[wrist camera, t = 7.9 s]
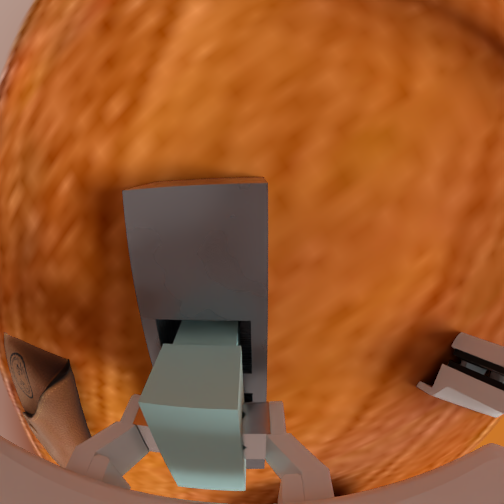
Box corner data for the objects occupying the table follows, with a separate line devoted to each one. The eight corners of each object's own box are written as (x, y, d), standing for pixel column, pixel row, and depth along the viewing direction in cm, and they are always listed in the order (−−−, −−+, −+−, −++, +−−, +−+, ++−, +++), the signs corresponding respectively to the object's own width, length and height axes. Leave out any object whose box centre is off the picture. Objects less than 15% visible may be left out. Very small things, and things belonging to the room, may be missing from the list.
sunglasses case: (-3, 325, 15) (-19, 384, 10) (70, 326, 19) (73, 386, 14) (48, 445, 21) (55, 491, 15) (100, 443, 24) (114, 489, 19)
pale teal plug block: (180, 305, 12) (138, 401, 7) (243, 305, 12) (237, 409, 7) (196, 395, 14) (178, 486, 8) (247, 396, 14) (245, 491, 8)
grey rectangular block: (156, 181, 12) (122, 190, 9) (263, 176, 12) (267, 182, 9) (194, 424, 17) (186, 465, 14) (263, 426, 17) (264, 468, 14)
